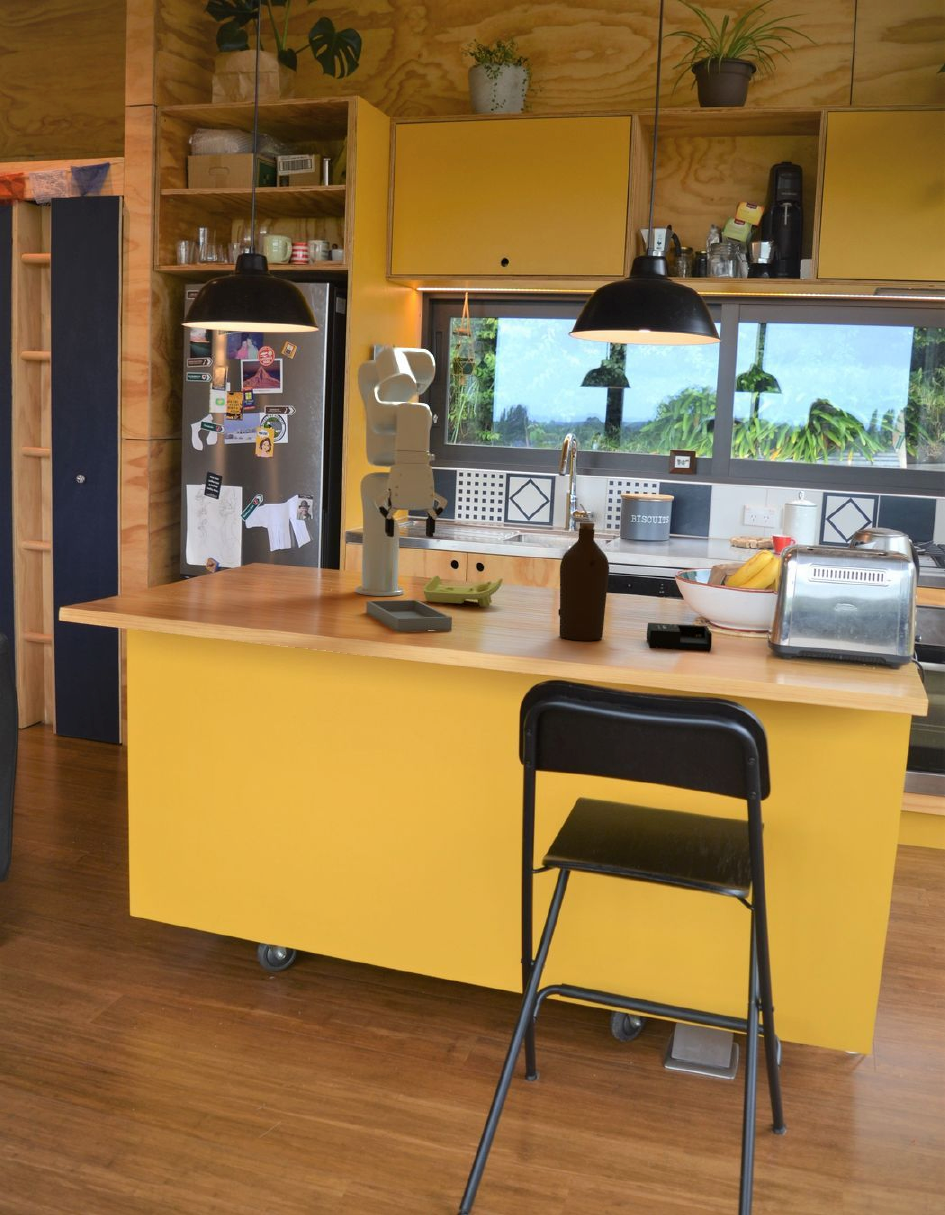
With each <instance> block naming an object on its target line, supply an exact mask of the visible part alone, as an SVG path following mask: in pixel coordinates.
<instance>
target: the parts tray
mask: <svg viewBox="0 0 945 1215" xmlns="http://www.w3.org/2000/svg"><path fill="white" fill-rule="evenodd" d="M365 613H366V614H367V615H368V616H371V617H372V618H373V619H375V620H377V621H379V622H380V623H382V624H383V625H386V627H389V628H390V629H392V630H393V631H395V632H396V631H397V633H415V632H414V631H425V632H429V631H428V630H451V631H452V629H453V628H452V627H453V625H452V623H453V617H452V616H451V615H449V614H446V613H444V612H442V611H440V610H438V609H436V608H434V607H432V606H430V605H428V604H426V603H424V602H422V601H419V600H417V599H403V600H401V599H398V600H395V599H394V600H390V599H389V600H366V609H365ZM411 631H413V632H411Z"/></svg>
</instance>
